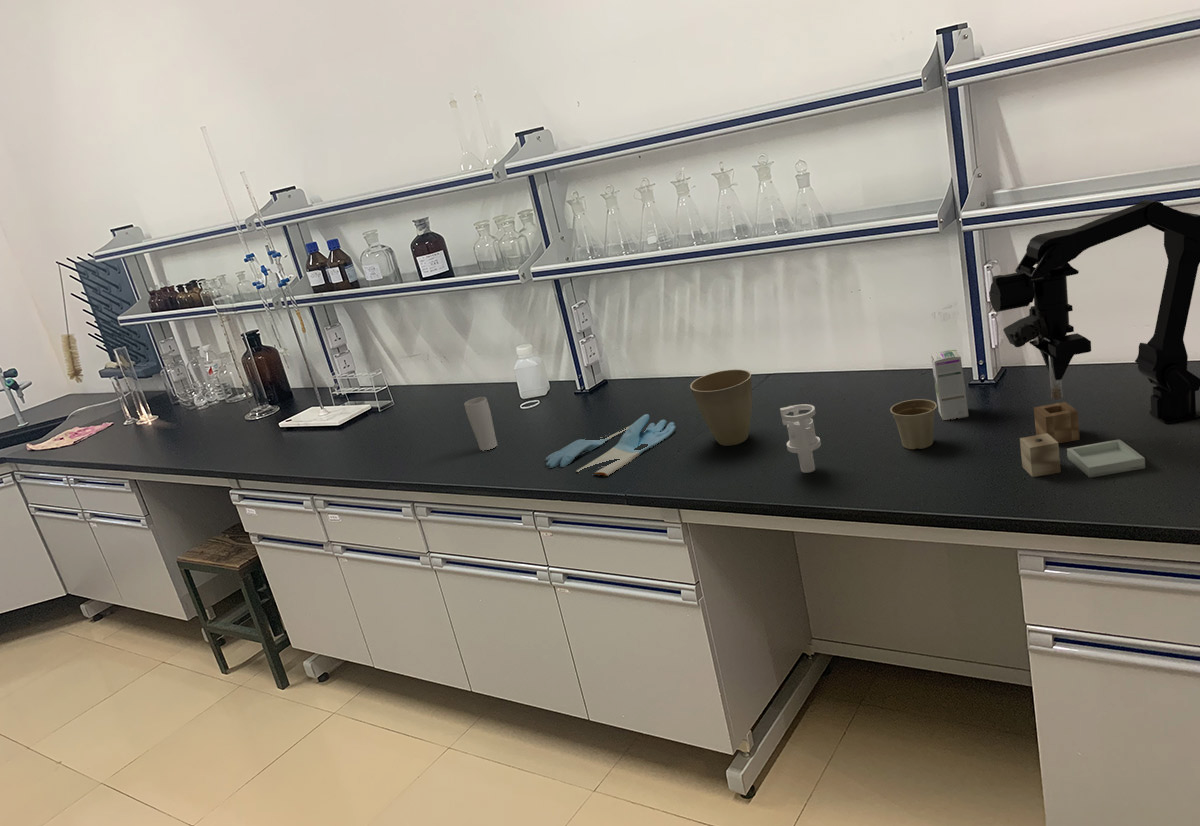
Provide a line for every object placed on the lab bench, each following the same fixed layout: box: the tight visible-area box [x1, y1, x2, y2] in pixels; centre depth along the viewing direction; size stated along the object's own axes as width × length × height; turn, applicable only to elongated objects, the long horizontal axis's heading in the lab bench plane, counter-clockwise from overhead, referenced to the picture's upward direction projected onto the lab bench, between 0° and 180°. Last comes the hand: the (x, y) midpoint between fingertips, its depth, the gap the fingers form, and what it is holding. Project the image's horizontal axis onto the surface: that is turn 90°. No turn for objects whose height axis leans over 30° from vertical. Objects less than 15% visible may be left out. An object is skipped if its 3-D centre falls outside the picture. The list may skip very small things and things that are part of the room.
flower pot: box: [889, 398, 938, 450], centre depth 185 cm, size 9×9×9 cm
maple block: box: [1019, 433, 1062, 478], centre depth 162 cm, size 5×5×6 cm
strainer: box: [779, 403, 822, 474], centre depth 185 cm, size 7×7×15 cm
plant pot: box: [689, 368, 753, 447], centre depth 212 cm, size 15×15×16 cm
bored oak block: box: [1033, 401, 1080, 444], centre depth 173 cm, size 6×6×6 cm
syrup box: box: [930, 349, 969, 421], centre depth 195 cm, size 6×6×14 cm
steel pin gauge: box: [1048, 355, 1064, 400], centre depth 169 cm, size 2×2×10 cm
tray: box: [1066, 439, 1146, 478], centre depth 159 cm, size 9×9×2 cm
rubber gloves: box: [544, 413, 677, 477], centre depth 230 cm, size 27×33×6 cm
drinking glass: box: [463, 396, 498, 452], centre depth 251 cm, size 7×7×15 cm
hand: (1055, 378), depth 170 cm, fingers closed on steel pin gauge, 2 cm apart
